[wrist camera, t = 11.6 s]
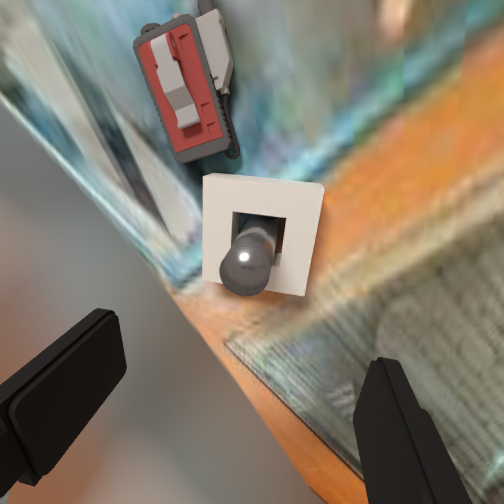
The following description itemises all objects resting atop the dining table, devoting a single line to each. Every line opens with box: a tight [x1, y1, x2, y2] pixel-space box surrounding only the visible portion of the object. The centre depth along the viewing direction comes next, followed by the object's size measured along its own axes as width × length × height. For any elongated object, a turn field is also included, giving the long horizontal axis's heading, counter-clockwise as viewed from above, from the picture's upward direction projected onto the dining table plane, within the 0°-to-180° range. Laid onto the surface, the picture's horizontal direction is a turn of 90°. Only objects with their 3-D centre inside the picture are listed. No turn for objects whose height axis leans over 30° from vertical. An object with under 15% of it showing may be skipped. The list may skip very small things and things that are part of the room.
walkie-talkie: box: [133, 0, 240, 164], centre depth 24 cm, size 9×4×20 cm
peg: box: [219, 214, 279, 296], centre depth 25 cm, size 4×4×12 cm
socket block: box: [202, 173, 325, 296], centre depth 29 cm, size 12×12×4 cm
